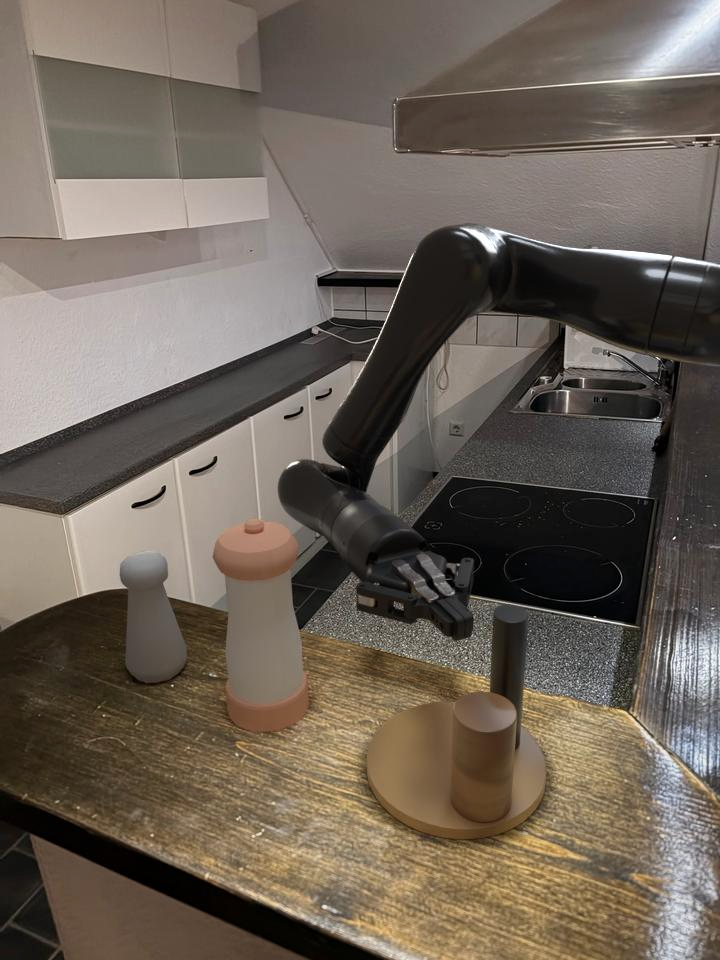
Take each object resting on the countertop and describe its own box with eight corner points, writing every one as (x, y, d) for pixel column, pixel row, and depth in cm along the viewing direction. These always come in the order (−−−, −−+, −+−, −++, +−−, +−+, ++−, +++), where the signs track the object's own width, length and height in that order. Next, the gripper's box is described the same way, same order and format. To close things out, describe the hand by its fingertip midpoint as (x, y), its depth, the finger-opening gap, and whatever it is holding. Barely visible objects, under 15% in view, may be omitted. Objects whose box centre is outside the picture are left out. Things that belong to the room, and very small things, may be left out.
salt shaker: (146, 656, 77) (128, 541, 73) (198, 661, 76) (185, 545, 71) (117, 691, 72) (97, 570, 67) (174, 698, 71) (157, 575, 66)
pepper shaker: (322, 698, 70) (313, 509, 63) (287, 750, 64) (272, 546, 57) (253, 681, 73) (237, 498, 66) (212, 730, 67) (189, 532, 60)
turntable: (482, 693, 69) (488, 566, 64) (584, 800, 57) (600, 653, 52) (339, 739, 64) (334, 604, 59) (418, 867, 52) (419, 711, 47)
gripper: (317, 526, 75) (395, 609, 61) (434, 502, 80) (532, 574, 66) (320, 592, 78) (395, 687, 64) (433, 565, 83) (527, 648, 68)
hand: (465, 630), depth 65 cm, fingers closed
